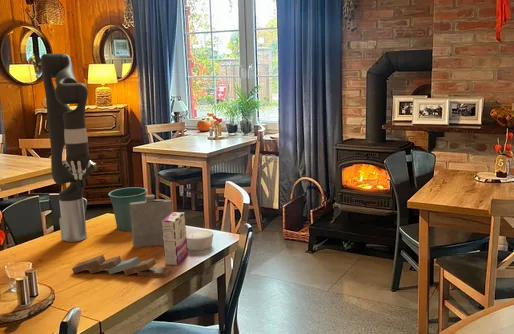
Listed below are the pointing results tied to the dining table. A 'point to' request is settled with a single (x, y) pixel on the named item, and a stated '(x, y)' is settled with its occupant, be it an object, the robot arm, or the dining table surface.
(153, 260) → the domino
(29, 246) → the dining table surface
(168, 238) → the candy bar box
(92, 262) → the domino
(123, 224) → the flower pot
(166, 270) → the domino
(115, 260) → the domino
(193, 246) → the ramekin
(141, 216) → the hip flask
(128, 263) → the domino
